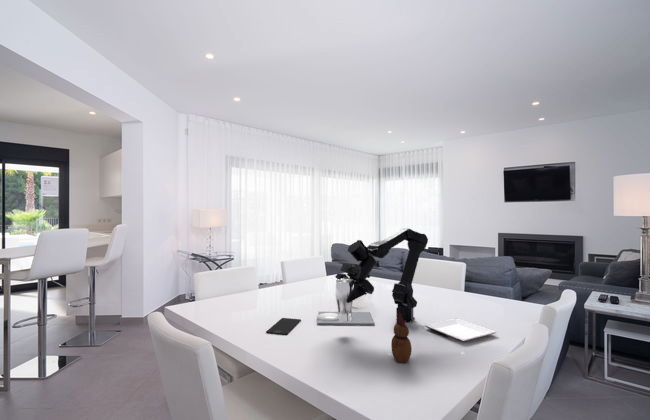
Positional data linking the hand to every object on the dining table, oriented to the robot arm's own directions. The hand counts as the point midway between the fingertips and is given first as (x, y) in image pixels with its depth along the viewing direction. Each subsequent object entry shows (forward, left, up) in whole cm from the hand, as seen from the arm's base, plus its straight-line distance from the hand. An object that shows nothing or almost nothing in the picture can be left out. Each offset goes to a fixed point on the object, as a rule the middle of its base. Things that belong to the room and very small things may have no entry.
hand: (341, 300), depth 123 cm
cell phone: (+24, +5, -14) cm, 28 cm away
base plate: (+8, -17, -13) cm, 23 cm away
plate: (-38, -27, -14) cm, 48 cm away
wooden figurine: (-27, +9, -13) cm, 31 cm away
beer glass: (-1, -1, -8) cm, 8 cm away
